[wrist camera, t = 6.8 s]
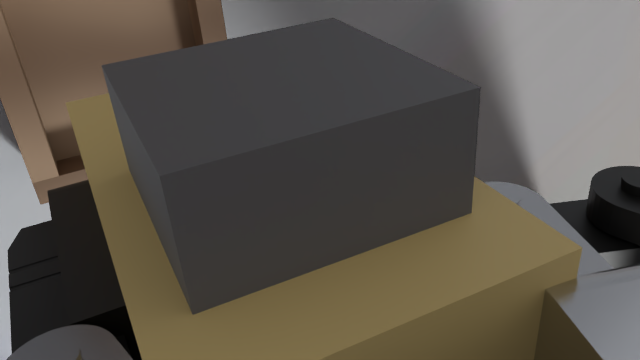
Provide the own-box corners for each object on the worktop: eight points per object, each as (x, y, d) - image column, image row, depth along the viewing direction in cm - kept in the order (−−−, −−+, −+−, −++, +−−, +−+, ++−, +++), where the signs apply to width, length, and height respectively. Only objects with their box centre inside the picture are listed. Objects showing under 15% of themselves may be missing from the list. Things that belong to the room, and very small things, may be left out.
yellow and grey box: (306, 228, 13) (534, 497, 8) (123, 289, 12) (239, 674, 6) (280, -24, 10) (608, 111, 5) (38, 17, 9) (112, 271, 3)
